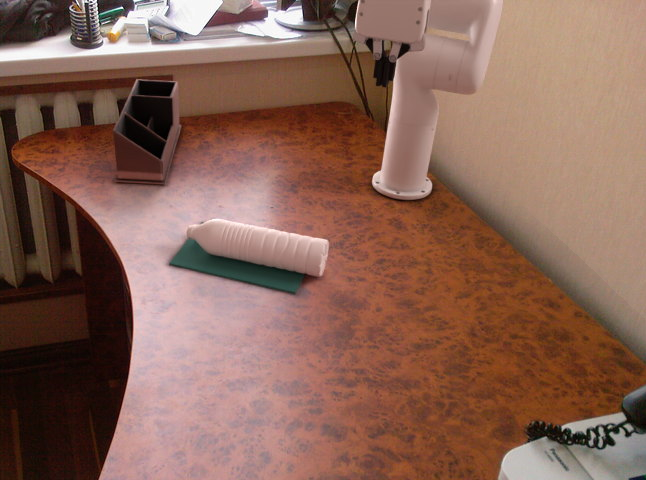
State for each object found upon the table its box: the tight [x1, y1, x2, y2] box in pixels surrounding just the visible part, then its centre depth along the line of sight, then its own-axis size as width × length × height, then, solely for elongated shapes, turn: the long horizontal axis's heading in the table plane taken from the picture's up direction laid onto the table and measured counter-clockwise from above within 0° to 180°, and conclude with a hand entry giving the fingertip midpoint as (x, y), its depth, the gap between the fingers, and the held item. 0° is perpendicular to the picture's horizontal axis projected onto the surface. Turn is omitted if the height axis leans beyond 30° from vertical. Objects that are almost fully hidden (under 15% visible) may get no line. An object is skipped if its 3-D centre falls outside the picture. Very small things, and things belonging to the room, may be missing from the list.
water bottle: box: [186, 218, 330, 278], centre depth 130 cm, size 9×6×25 cm
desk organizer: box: [112, 78, 182, 186], centre depth 160 cm, size 10×29×11 cm, turn 179°
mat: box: [169, 221, 307, 295], centre depth 132 cm, size 15×23×1 cm, turn 72°
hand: (382, 83), depth 113 cm, fingers closed
